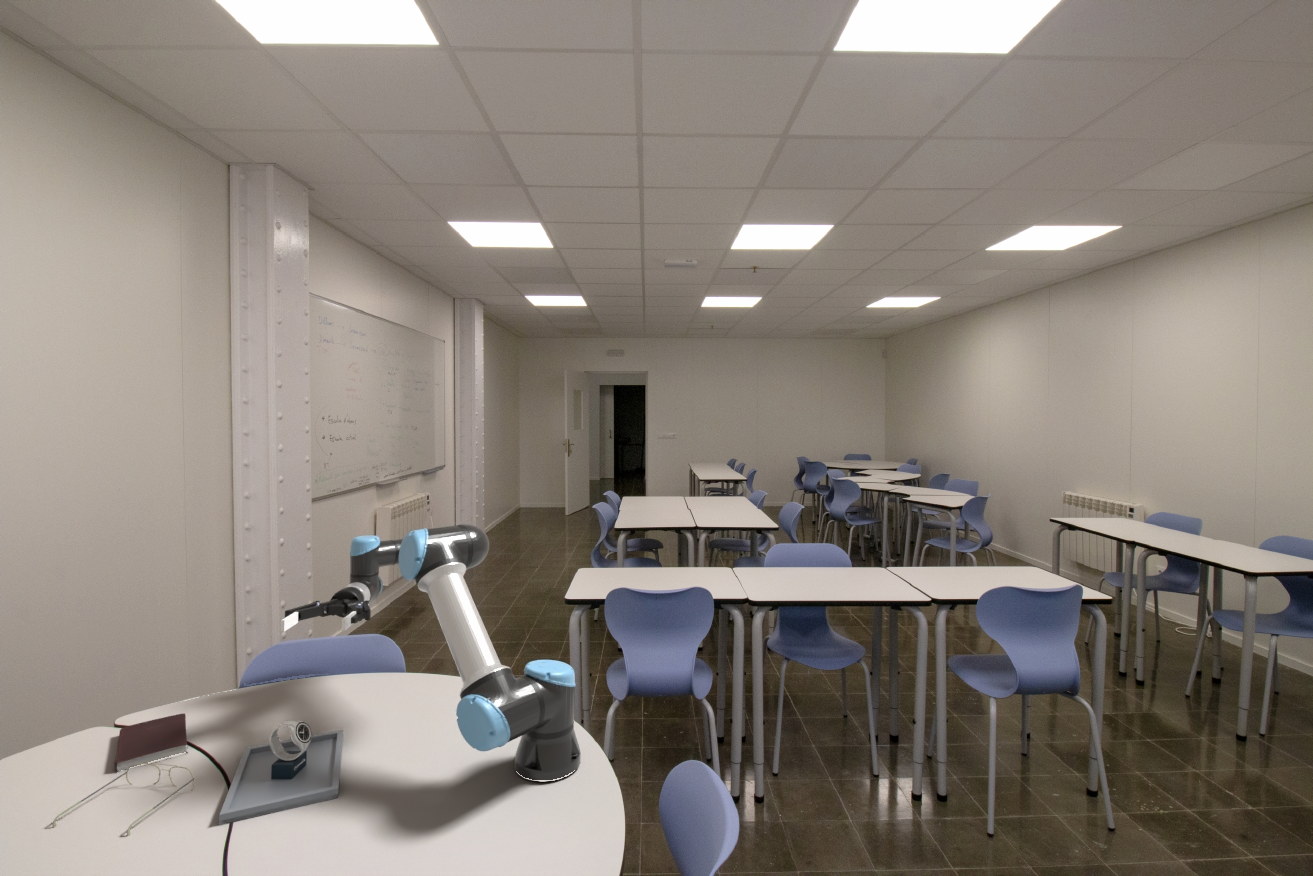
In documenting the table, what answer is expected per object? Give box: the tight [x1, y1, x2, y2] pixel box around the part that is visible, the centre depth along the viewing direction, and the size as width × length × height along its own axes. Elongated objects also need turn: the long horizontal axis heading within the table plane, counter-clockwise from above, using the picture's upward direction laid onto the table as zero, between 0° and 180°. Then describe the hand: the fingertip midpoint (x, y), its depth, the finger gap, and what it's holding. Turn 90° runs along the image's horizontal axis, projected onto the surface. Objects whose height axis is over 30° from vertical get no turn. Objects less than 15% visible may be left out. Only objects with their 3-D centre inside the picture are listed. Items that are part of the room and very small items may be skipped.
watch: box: [268, 719, 313, 779], centre depth 126 cm, size 6×8×11 cm
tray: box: [218, 729, 344, 826], centre depth 126 cm, size 26×20×2 cm
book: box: [114, 713, 189, 774], centre depth 136 cm, size 12×19×3 cm, turn 40°
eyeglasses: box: [52, 762, 195, 837], centre depth 114 cm, size 16×15×5 cm
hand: (313, 625), depth 135 cm, fingers open, 13 cm apart
